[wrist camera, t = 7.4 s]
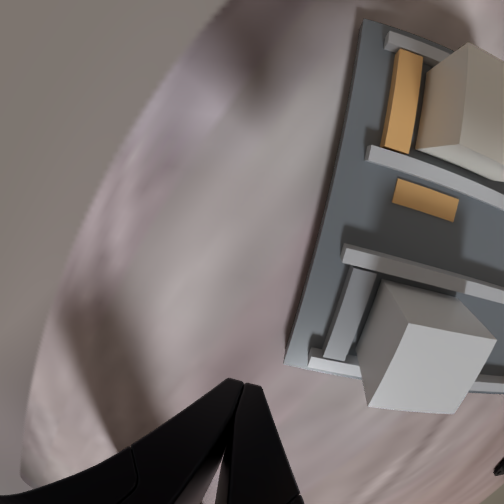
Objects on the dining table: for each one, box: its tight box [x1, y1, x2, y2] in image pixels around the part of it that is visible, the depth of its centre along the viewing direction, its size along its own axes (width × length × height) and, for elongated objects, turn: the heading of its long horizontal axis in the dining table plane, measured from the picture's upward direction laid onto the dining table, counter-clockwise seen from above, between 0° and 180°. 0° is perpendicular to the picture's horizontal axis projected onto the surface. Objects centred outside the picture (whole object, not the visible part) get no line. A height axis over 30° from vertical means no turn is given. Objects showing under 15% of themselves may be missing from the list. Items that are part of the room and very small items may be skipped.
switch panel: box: [283, 19, 504, 394], centre depth 11 cm, size 16×16×2 cm
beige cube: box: [415, 42, 504, 182], centre depth 8 cm, size 4×4×4 cm
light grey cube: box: [356, 279, 497, 414], centre depth 11 cm, size 4×4×4 cm
